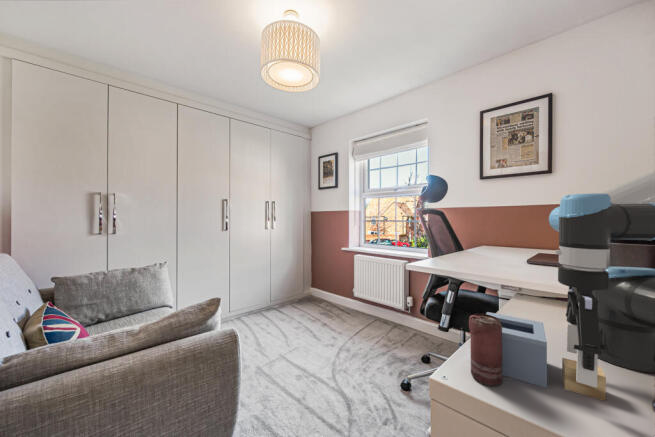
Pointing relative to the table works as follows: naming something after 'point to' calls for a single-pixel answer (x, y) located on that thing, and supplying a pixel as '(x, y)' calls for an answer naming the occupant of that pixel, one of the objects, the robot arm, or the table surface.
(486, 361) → the can
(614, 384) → the table surface
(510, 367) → the coin box
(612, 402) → the table surface
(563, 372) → the wooden block
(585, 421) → the table surface
